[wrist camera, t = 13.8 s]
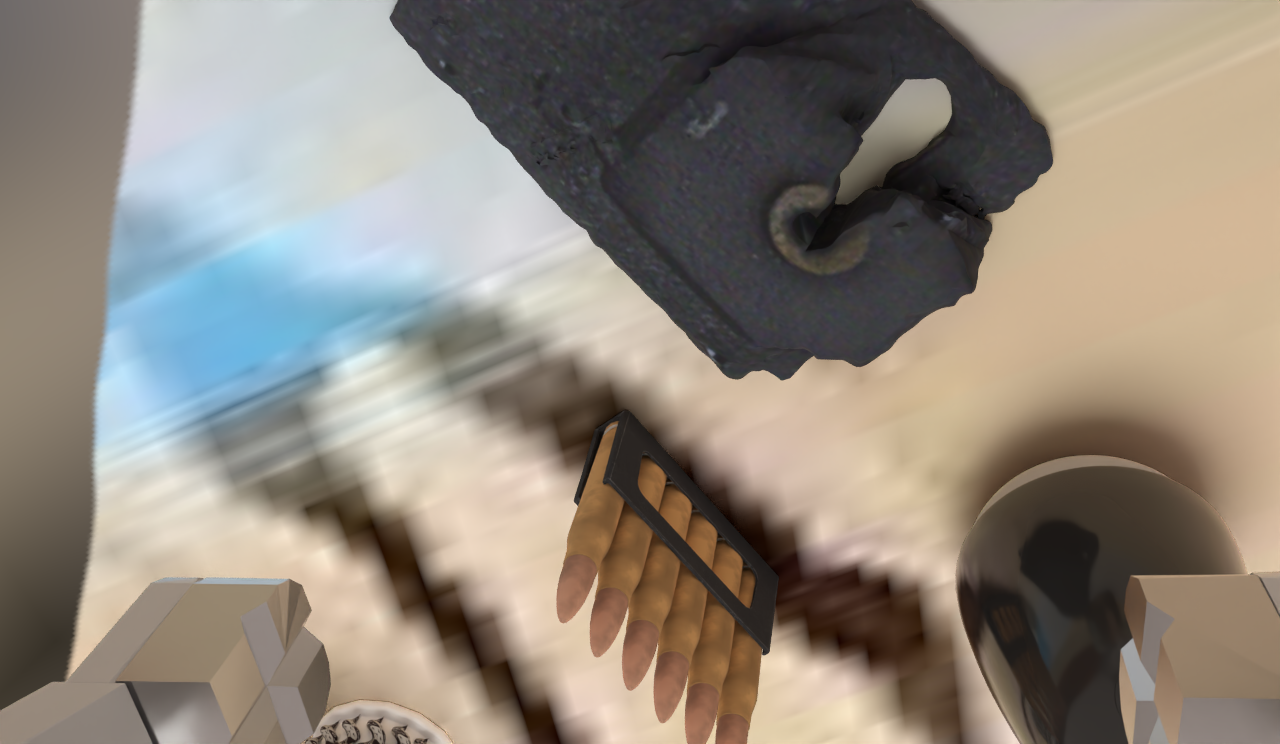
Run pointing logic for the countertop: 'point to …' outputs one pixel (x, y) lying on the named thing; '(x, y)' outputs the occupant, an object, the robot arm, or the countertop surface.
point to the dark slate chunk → (745, 156)
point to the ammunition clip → (668, 583)
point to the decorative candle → (376, 725)
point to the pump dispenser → (1075, 586)
